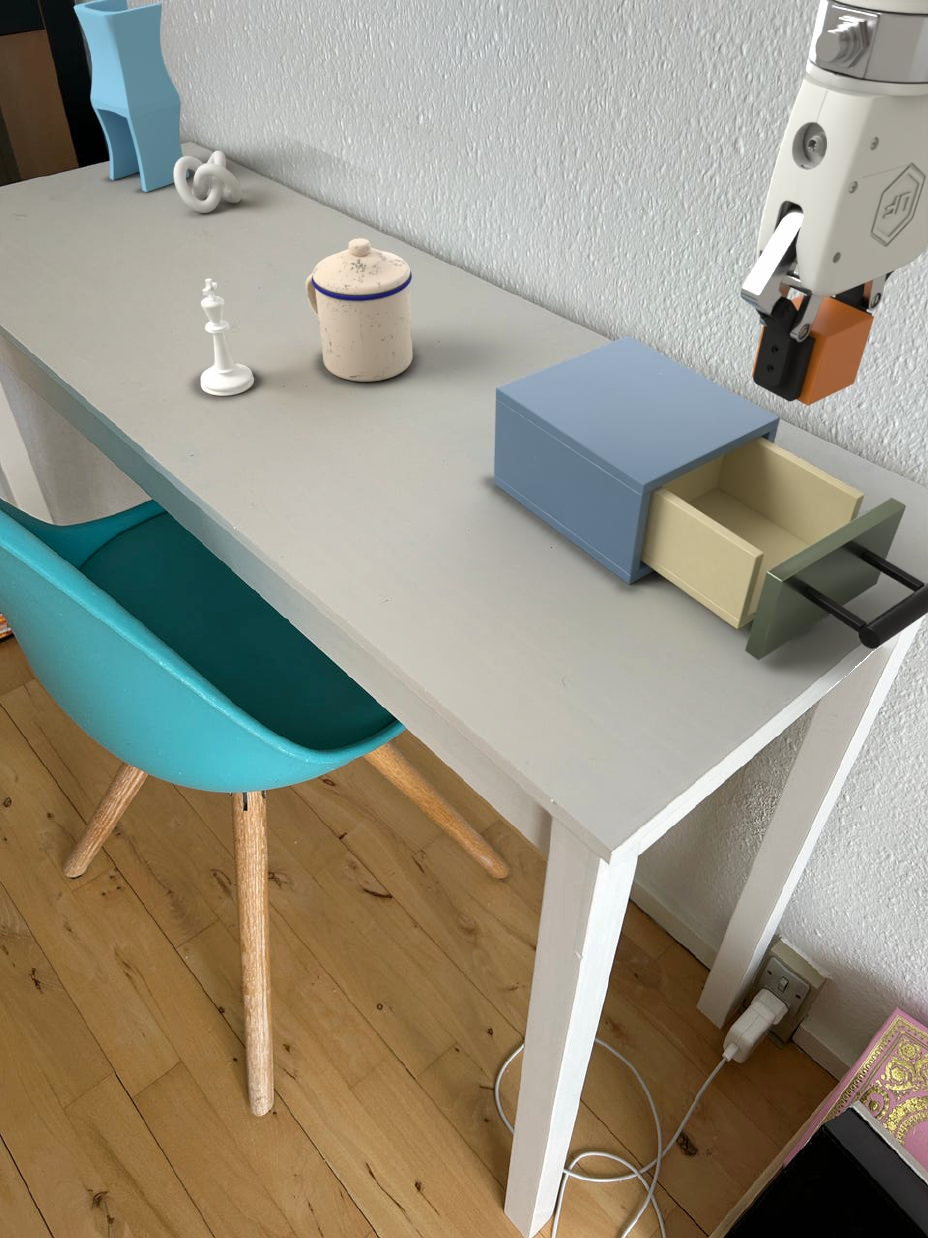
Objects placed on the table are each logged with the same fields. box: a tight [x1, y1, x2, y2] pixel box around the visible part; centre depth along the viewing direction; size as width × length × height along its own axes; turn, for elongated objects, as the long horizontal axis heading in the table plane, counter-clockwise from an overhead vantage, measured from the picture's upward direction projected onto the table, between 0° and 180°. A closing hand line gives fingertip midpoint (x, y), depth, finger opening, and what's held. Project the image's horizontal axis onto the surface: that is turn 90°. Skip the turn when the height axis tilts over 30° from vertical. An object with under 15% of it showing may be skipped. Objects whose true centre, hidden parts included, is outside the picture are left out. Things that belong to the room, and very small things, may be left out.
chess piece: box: [200, 278, 255, 397], centre depth 88 cm, size 5×5×10 cm
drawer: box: [641, 436, 928, 661], centre depth 67 cm, size 20×13×7 cm, turn 37°
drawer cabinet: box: [493, 335, 781, 585], centre depth 75 cm, size 16×14×9 cm
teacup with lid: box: [304, 237, 414, 383], centre depth 91 cm, size 12×9×12 cm
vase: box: [73, 0, 190, 193], centre depth 125 cm, size 8×8×20 cm
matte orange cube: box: [751, 294, 875, 407], centre depth 59 cm, size 4×4×4 cm
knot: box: [174, 150, 243, 214], centre depth 122 cm, size 8×8×6 cm
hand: (803, 375), depth 60 cm, fingers closed on matte orange cube, 4 cm apart
